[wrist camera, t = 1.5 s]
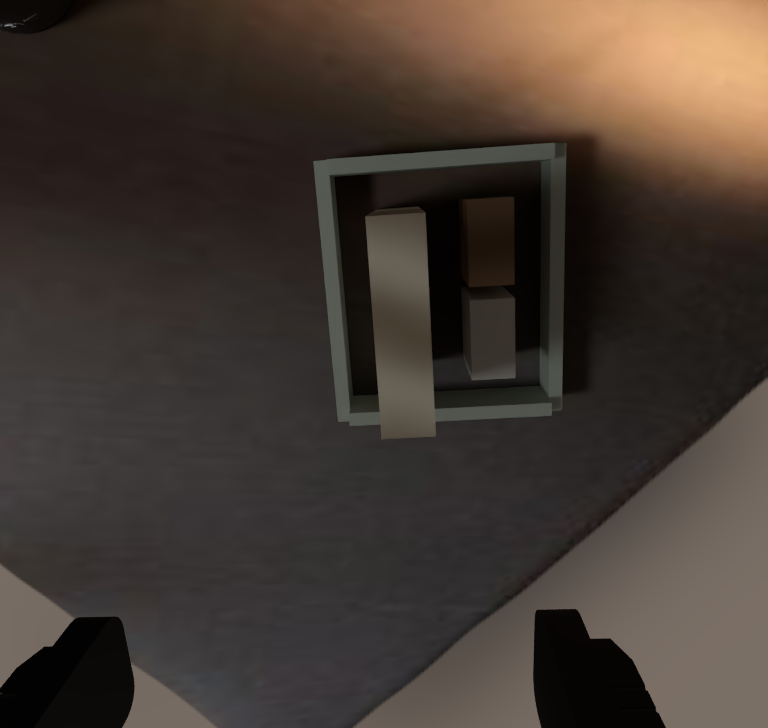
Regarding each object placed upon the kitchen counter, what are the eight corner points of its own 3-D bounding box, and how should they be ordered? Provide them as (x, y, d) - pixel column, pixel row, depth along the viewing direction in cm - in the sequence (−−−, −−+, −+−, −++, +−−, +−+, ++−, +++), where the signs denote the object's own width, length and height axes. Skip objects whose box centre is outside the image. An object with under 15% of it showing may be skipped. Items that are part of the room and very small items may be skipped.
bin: (319, 163, 43) (311, 160, 39) (555, 146, 42) (570, 141, 38) (342, 408, 48) (336, 426, 44) (552, 396, 47) (565, 414, 43)
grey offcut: (461, 287, 45) (469, 300, 39) (500, 284, 45) (515, 298, 39) (463, 357, 47) (471, 380, 41) (501, 355, 47) (515, 377, 41)
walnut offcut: (458, 199, 43) (466, 200, 38) (499, 196, 43) (514, 196, 37) (460, 275, 45) (469, 287, 39) (500, 272, 45) (514, 284, 39)
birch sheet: (377, 209, 44) (365, 216, 29) (417, 206, 44) (425, 212, 29) (388, 364, 47) (381, 439, 33) (425, 361, 47) (435, 436, 32)
